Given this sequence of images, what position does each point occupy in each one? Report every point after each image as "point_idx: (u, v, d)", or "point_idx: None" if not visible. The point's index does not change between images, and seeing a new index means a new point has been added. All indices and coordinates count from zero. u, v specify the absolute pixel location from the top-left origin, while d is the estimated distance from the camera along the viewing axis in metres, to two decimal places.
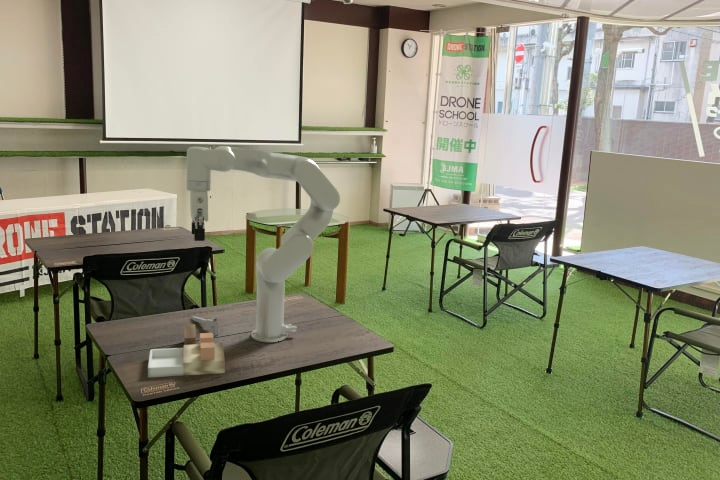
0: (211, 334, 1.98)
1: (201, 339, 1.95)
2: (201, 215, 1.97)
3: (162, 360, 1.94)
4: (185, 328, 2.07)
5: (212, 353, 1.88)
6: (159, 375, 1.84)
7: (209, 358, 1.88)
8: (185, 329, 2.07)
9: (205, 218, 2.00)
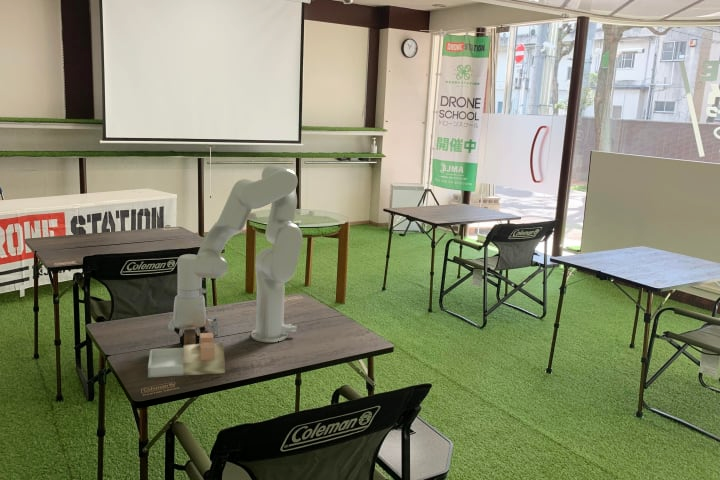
0: (211, 334, 1.98)
1: (201, 339, 1.95)
2: (209, 322, 2.07)
3: (162, 360, 1.94)
4: (185, 328, 2.07)
5: (212, 353, 1.88)
6: (159, 375, 1.84)
7: (209, 358, 1.88)
8: (185, 329, 2.06)
9: None
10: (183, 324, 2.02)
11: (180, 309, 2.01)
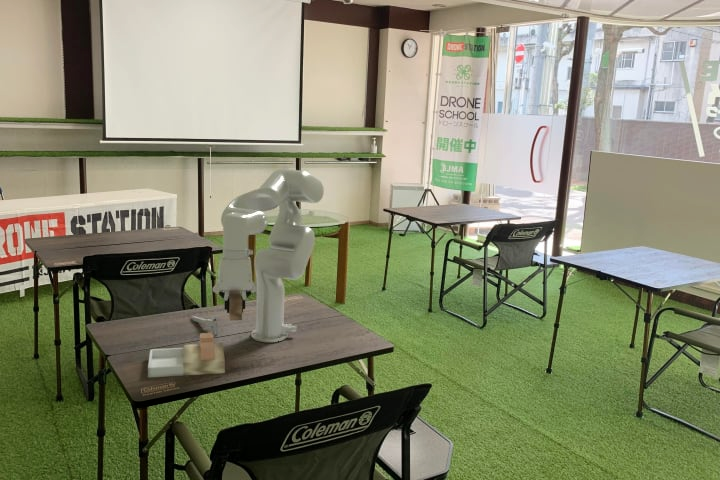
0: (211, 334, 1.98)
1: (201, 339, 1.95)
2: (255, 286, 1.94)
3: (162, 360, 1.94)
4: (229, 292, 1.94)
5: (212, 353, 1.88)
6: (159, 375, 1.84)
7: (209, 358, 1.88)
8: (230, 293, 1.93)
9: None
10: (229, 287, 1.89)
11: (226, 271, 1.88)
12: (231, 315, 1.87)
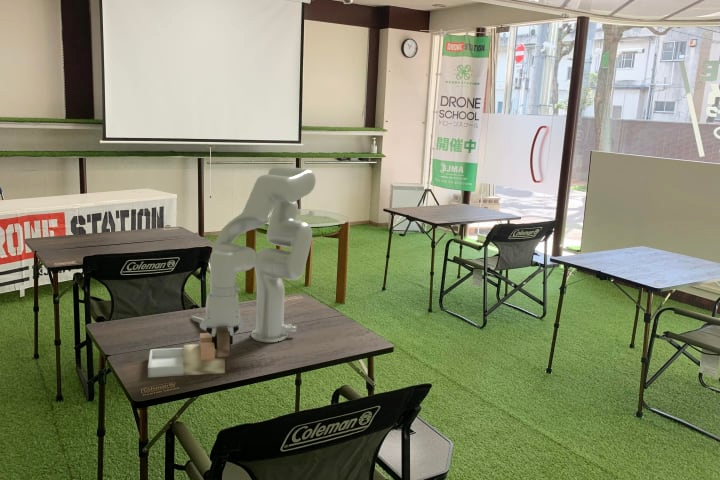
0: None
1: (201, 339, 1.95)
2: None
3: (162, 360, 1.94)
4: (217, 327, 1.96)
5: (212, 353, 1.88)
6: (159, 375, 1.84)
7: (209, 358, 1.88)
8: (217, 329, 1.95)
9: None
10: (216, 324, 1.90)
11: (213, 308, 1.89)
12: (219, 352, 1.88)
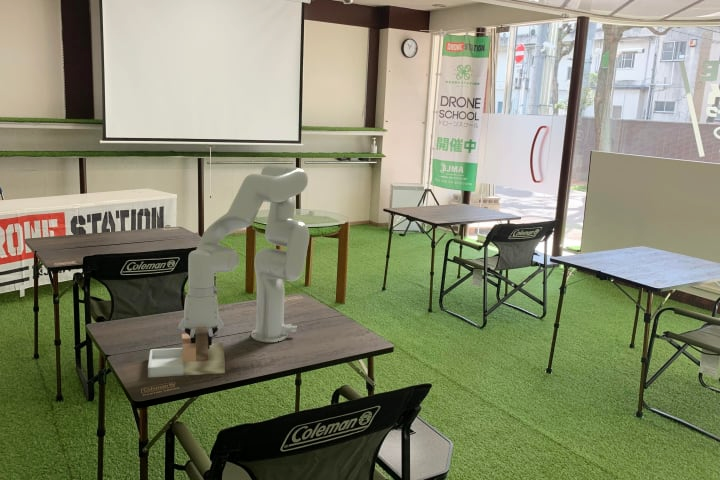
0: None
1: (183, 340, 1.93)
2: (222, 322, 1.93)
3: (162, 360, 1.94)
4: (196, 331, 1.94)
5: (193, 354, 1.87)
6: (159, 375, 1.84)
7: (190, 359, 1.87)
8: (196, 332, 1.93)
9: None
10: (194, 324, 1.89)
11: (191, 309, 1.87)
12: (197, 355, 1.87)
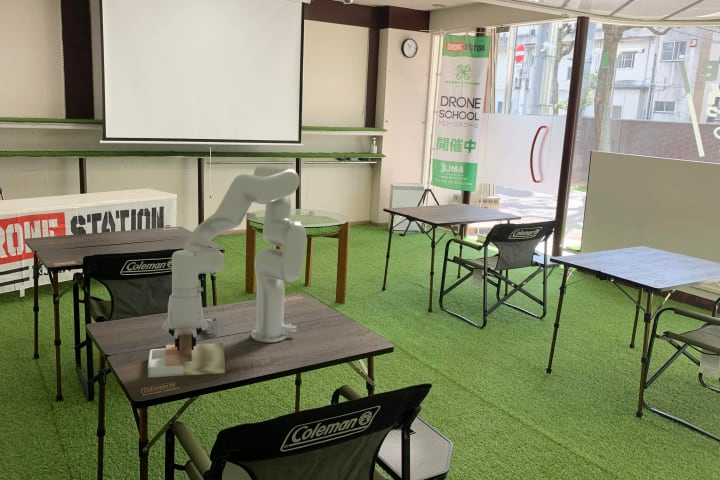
0: (166, 348, 1.95)
1: None
2: (206, 323, 1.92)
3: (162, 360, 1.94)
4: (180, 332, 1.93)
5: (172, 362, 1.85)
6: (159, 375, 1.84)
7: (177, 364, 1.86)
8: (180, 333, 1.92)
9: None
10: (178, 325, 1.88)
11: (175, 310, 1.86)
12: (180, 356, 1.86)
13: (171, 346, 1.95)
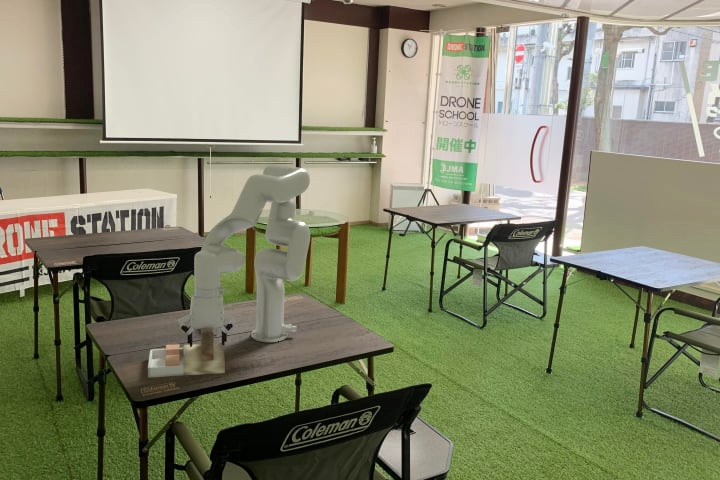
0: (166, 348, 1.95)
1: None
2: (232, 316, 1.94)
3: (162, 360, 1.94)
4: (202, 331, 1.95)
5: (172, 362, 1.85)
6: (159, 375, 1.84)
7: (177, 364, 1.86)
8: (202, 332, 1.94)
9: None
10: (200, 325, 1.89)
11: (197, 310, 1.88)
12: (203, 355, 1.87)
13: (171, 346, 1.95)
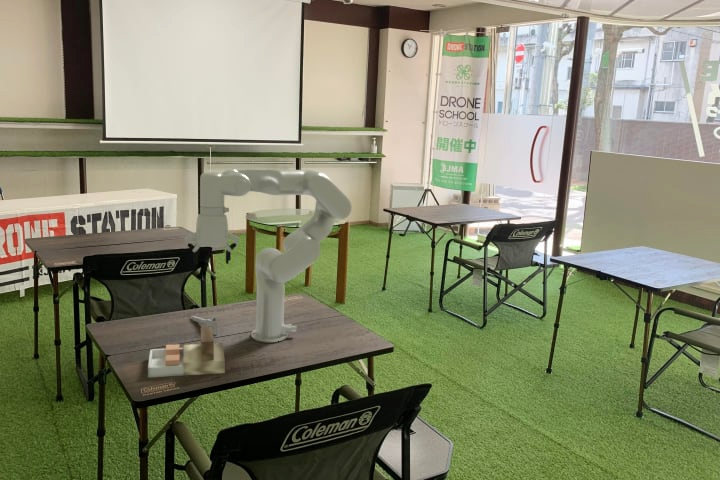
0: (166, 348, 1.95)
1: None
2: (236, 236, 2.04)
3: (162, 360, 1.94)
4: (202, 331, 1.95)
5: (172, 362, 1.85)
6: (159, 375, 1.84)
7: (177, 364, 1.86)
8: (202, 332, 1.94)
9: None
10: (206, 243, 2.00)
11: (203, 227, 1.99)
12: (203, 355, 1.87)
13: (171, 346, 1.95)
